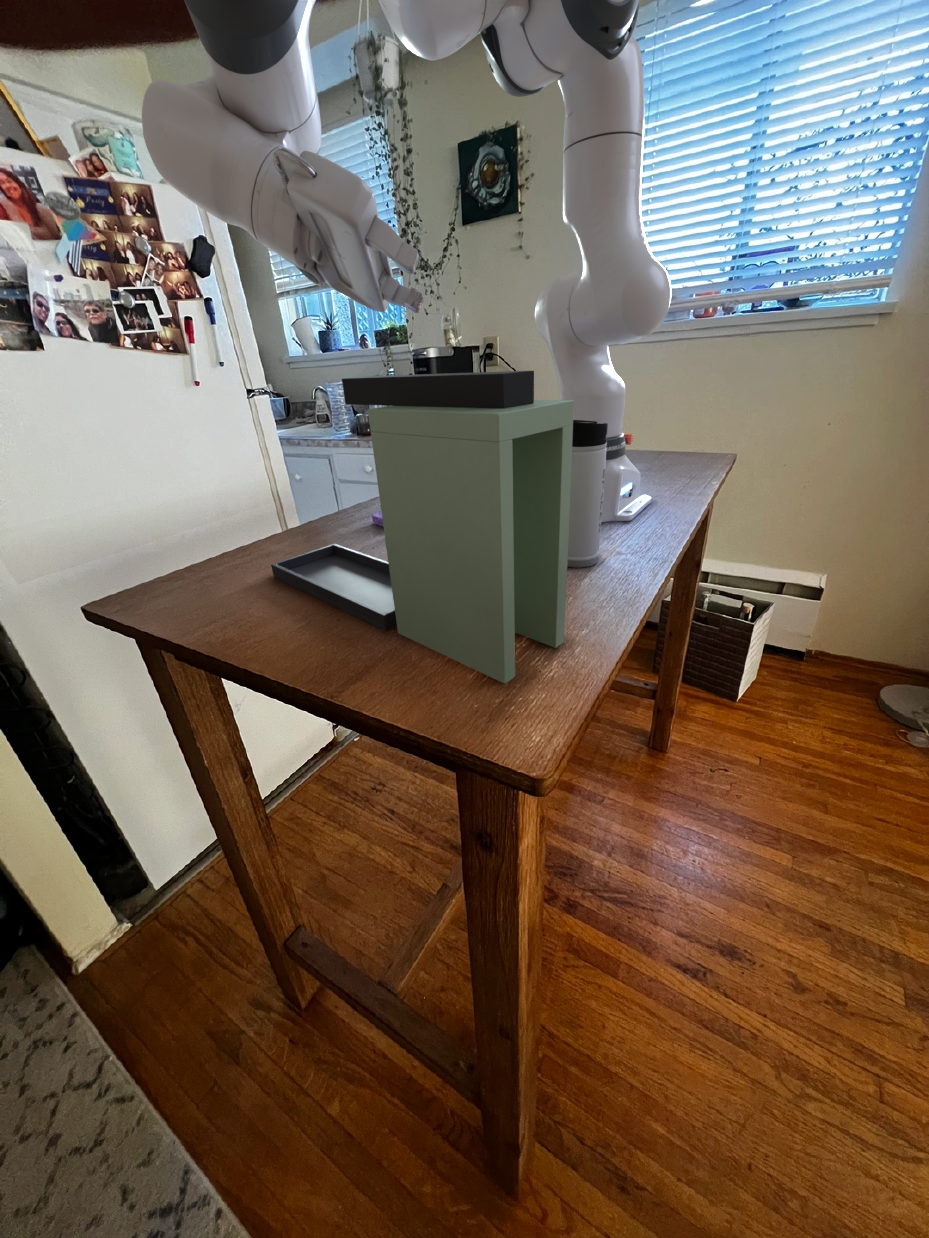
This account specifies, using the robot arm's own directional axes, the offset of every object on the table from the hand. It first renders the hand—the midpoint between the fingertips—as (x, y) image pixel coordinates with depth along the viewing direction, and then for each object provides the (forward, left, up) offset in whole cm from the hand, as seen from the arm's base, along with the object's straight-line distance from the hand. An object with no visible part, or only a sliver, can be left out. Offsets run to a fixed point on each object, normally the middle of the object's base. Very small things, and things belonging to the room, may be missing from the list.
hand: (419, 286), depth 54 cm
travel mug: (-18, +10, -35) cm, 40 cm away
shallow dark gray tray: (+8, -9, -35) cm, 37 cm away
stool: (+8, +14, -35) cm, 38 cm away
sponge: (-18, -28, -35) cm, 48 cm away
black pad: (+8, +9, -11) cm, 16 cm away
